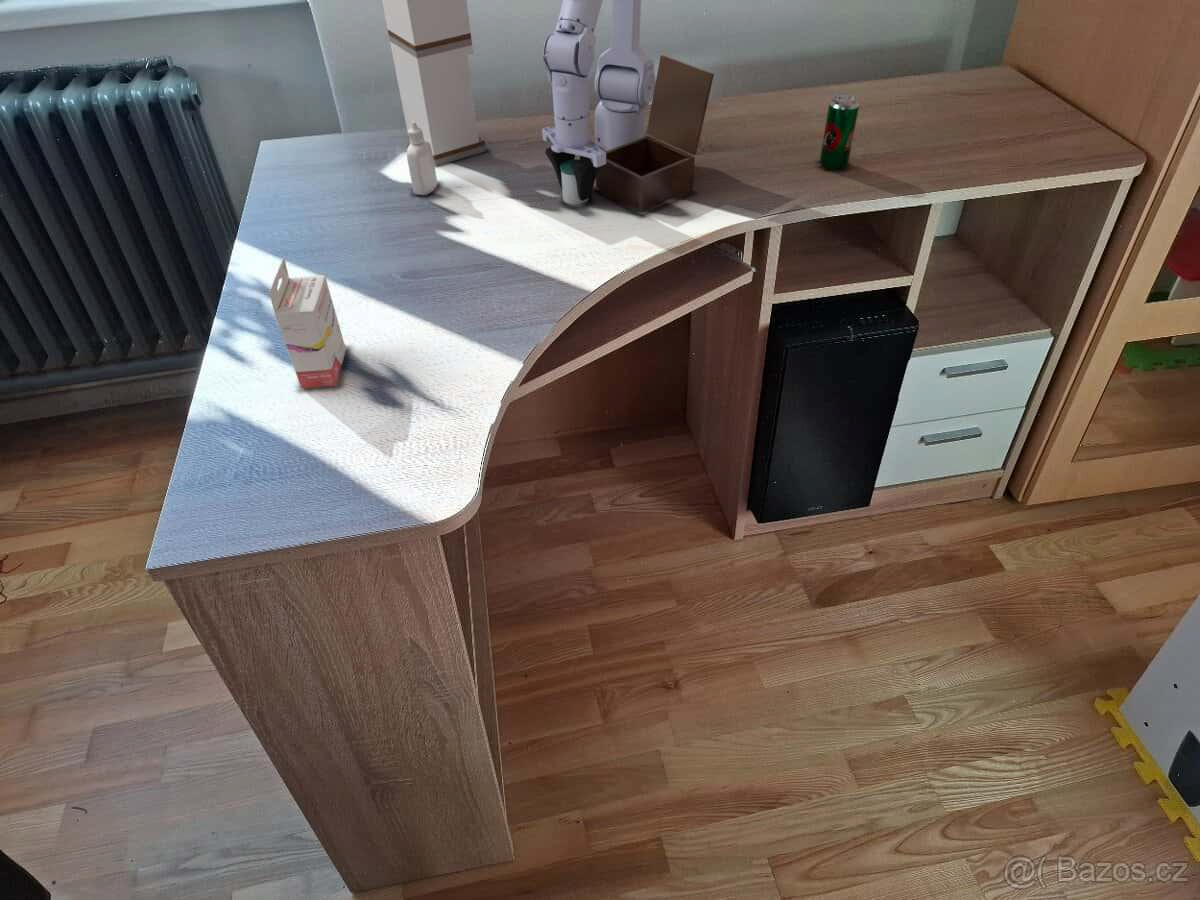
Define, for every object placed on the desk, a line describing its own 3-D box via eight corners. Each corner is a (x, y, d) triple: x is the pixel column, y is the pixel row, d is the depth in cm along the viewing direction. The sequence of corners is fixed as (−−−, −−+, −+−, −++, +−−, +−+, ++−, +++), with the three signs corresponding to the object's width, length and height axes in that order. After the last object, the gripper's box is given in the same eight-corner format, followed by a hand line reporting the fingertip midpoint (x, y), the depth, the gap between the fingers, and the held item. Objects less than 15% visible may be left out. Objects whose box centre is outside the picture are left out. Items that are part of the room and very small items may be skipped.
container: (556, 199, 141) (554, 165, 136) (578, 190, 143) (576, 156, 139) (573, 209, 138) (572, 174, 134) (595, 200, 140) (594, 165, 136)
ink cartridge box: (339, 387, 106) (307, 290, 96) (300, 389, 106) (264, 293, 96) (348, 347, 112) (319, 252, 102) (311, 350, 112) (279, 255, 102)
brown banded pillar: (485, 151, 156) (458, -59, 132) (435, 166, 152) (398, -48, 128) (458, 131, 163) (428, -72, 139) (410, 145, 159) (370, -61, 135)
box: (641, 216, 136) (641, 179, 132) (595, 191, 143) (594, 155, 139) (692, 193, 142) (694, 157, 137) (646, 170, 148) (647, 135, 144)
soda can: (847, 172, 146) (860, 104, 137) (818, 170, 146) (830, 103, 138) (847, 160, 149) (860, 93, 141) (819, 158, 150) (830, 91, 142)
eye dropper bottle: (445, 187, 146) (434, 120, 138) (420, 198, 143) (406, 130, 135) (431, 179, 148) (419, 113, 140) (405, 190, 145) (392, 123, 137)
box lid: (711, 73, 129) (714, 73, 130) (660, 54, 136) (663, 54, 137) (693, 155, 137) (696, 154, 137) (646, 133, 143) (648, 133, 144)
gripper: (525, 107, 133) (532, 185, 142) (580, 134, 124) (584, 215, 134) (559, 95, 136) (564, 173, 145) (615, 121, 127) (616, 202, 137)
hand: (575, 193), depth 140 cm, fingers closed on container, 4 cm apart
